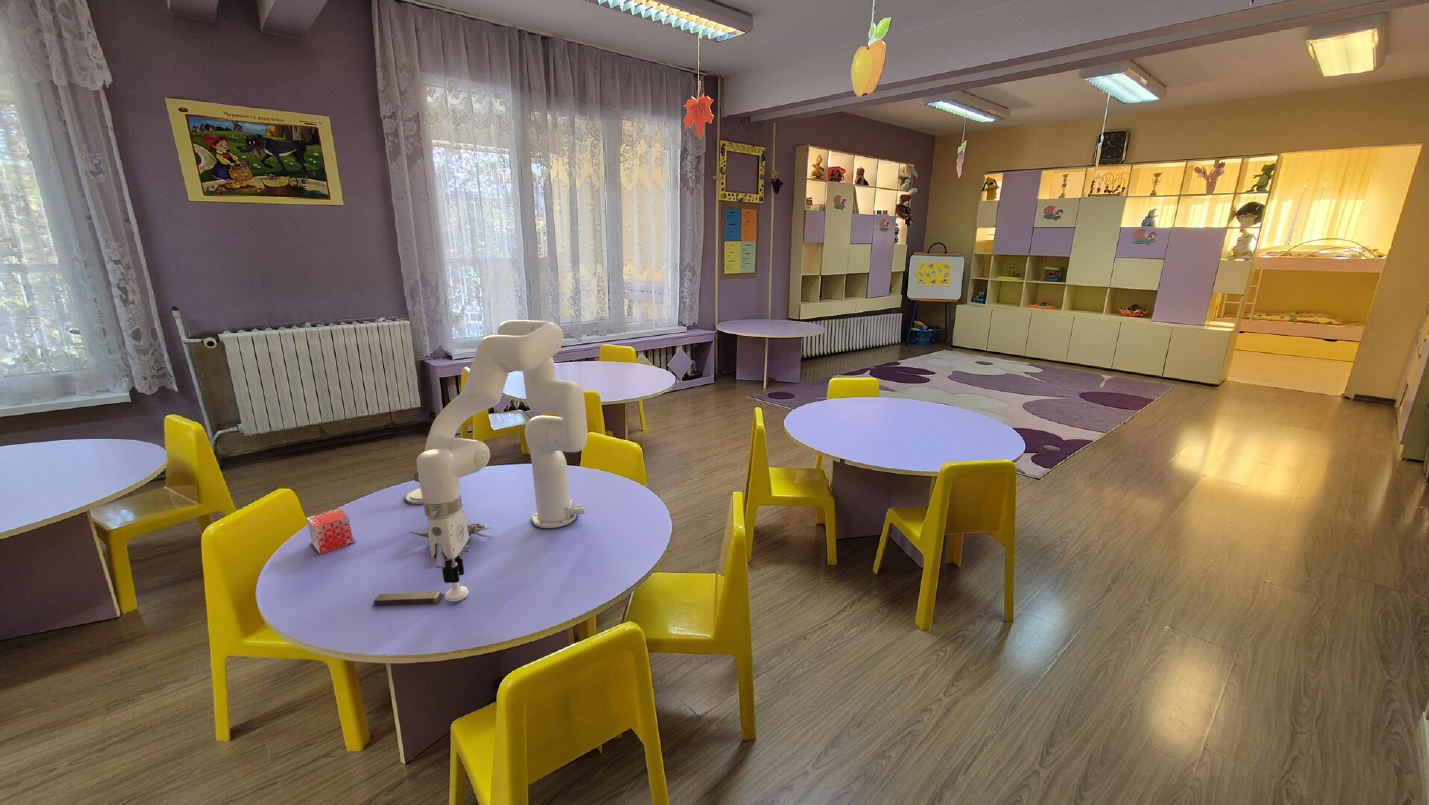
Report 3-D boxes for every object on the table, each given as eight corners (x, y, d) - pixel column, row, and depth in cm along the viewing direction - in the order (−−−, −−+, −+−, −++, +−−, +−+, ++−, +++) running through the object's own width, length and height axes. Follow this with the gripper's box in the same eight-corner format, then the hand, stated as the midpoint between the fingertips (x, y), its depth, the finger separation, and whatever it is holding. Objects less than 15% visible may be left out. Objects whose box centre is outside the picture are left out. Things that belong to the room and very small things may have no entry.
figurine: (487, 507, 164) (495, 534, 149) (488, 526, 165) (496, 554, 151) (408, 519, 155) (409, 548, 140) (410, 539, 156) (411, 570, 142)
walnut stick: (442, 595, 132) (441, 591, 132) (437, 602, 130) (436, 597, 129) (380, 598, 131) (379, 593, 131) (374, 605, 129) (373, 600, 129)
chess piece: (454, 604, 128) (447, 564, 125) (440, 597, 130) (434, 558, 127) (473, 592, 132) (467, 554, 129) (460, 586, 134) (454, 548, 131)
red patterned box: (353, 542, 156) (348, 516, 154) (320, 554, 150) (314, 527, 148) (344, 533, 161) (339, 507, 159) (312, 543, 156) (306, 517, 154)
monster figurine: (455, 489, 189) (451, 460, 186) (430, 505, 177) (425, 475, 174) (424, 486, 191) (419, 458, 188) (397, 502, 180) (392, 472, 177)
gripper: (445, 521, 117) (458, 599, 122) (473, 488, 132) (483, 558, 137) (408, 523, 117) (422, 600, 122) (440, 490, 132) (451, 560, 137)
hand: (454, 577), depth 130 cm, fingers closed on chess piece
